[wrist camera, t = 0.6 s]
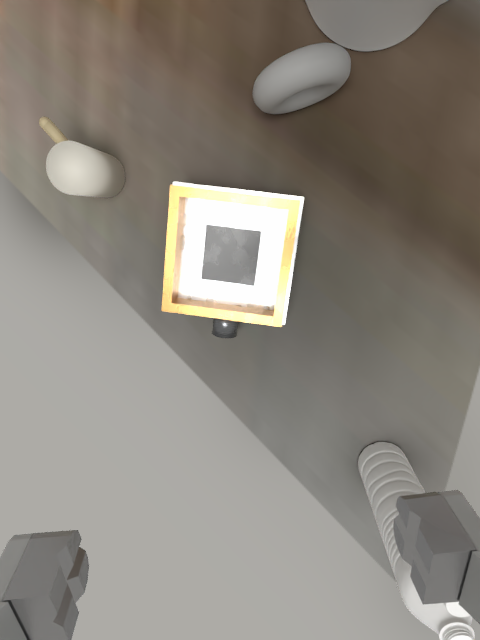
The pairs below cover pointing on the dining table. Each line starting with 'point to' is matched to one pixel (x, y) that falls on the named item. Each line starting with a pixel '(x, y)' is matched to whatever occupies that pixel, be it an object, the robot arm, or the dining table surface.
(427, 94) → the dining table surface
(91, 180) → the spout can
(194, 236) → the white orange open box
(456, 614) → the water bottle
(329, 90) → the donut
